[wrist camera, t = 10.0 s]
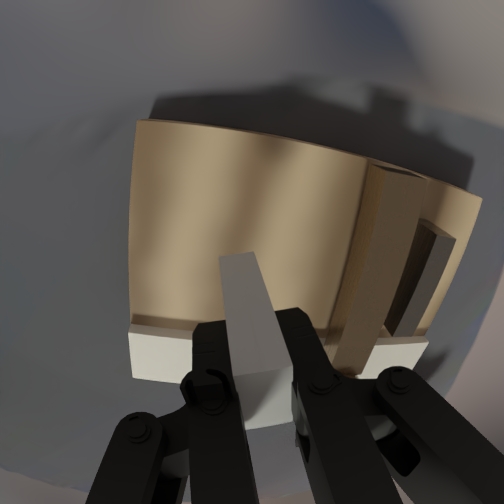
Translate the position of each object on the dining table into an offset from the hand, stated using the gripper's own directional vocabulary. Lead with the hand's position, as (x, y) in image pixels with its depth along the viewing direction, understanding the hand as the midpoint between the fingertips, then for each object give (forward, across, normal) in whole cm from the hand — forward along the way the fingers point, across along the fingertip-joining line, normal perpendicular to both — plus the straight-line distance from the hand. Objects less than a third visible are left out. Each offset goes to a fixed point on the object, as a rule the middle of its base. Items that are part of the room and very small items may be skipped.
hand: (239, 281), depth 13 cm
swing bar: (+4, +8, -5) cm, 11 cm away
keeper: (+6, +12, -4) cm, 14 cm away
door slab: (+9, +6, -3) cm, 11 cm away
